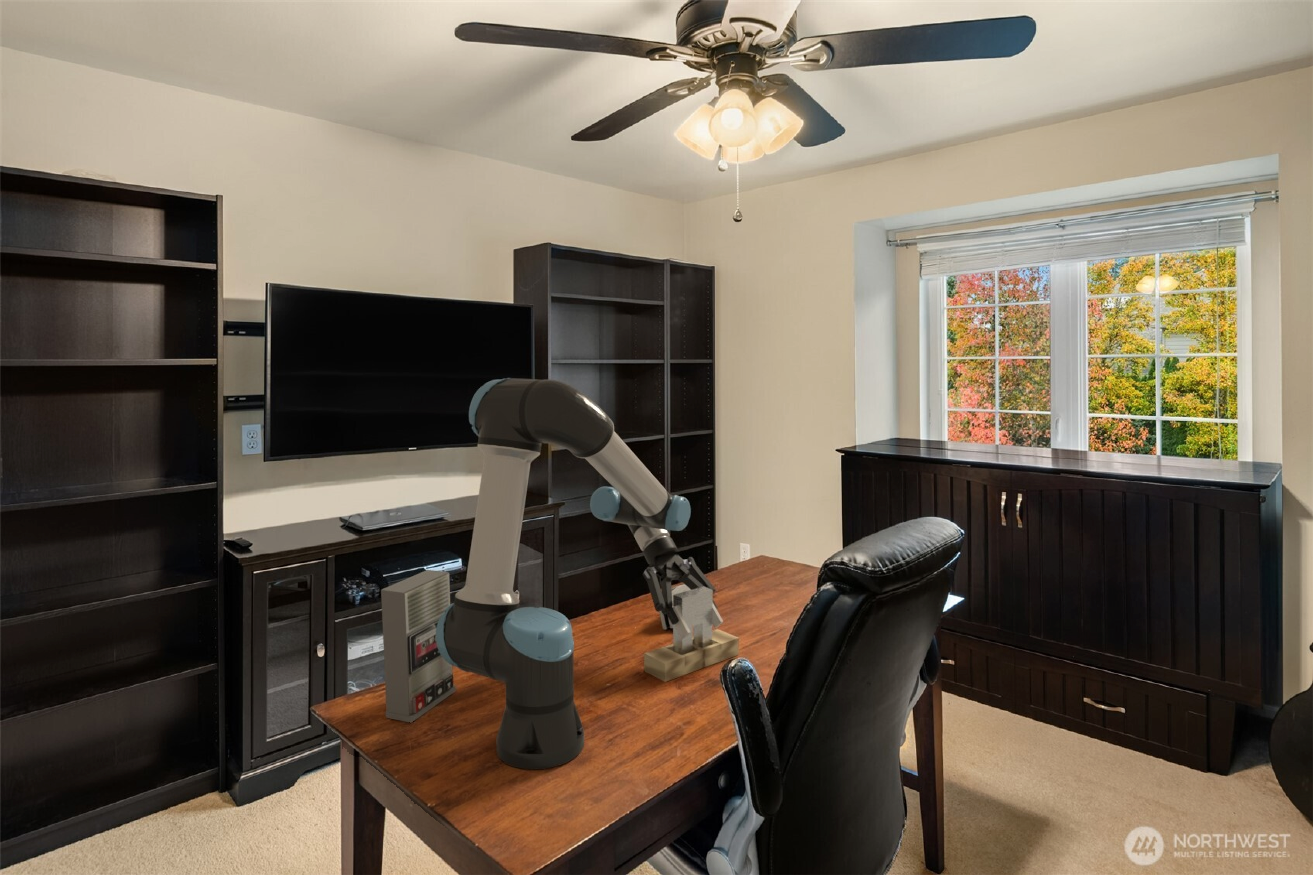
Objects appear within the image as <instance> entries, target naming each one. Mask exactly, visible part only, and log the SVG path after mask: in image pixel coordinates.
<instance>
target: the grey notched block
mask: <svg viewBox="0 0 1313 875" xmlns="http://www.w3.org/2000/svg"><path fill="white" fill-rule="evenodd" d="M713 598H714V593H713V590H712V589H709V588H706V587H704V586H703V587H700V588H696V589H692V590H689V591H685V592H682V593H678V594H675V595H673V607H674V606H677V607H678V609H679V611H680V613H681V615H682V617H683V619H684V621H685V622H686V624H687V626H688V628H689V630H690V632H691V633H690V634H689V635H688V636H687V637H686V638H684V639H682V638H681V636H680V634H679V632H678V630H677V628H676V626H675V624H674V625H673V628H672V631H673V632H672V634H673V635H672V637H673V638H672V641H673V642H672V644H673V651H674V652H676V653H678V654H680V655H684V654H687V653H690V652H693V644H694V645H696V646H698V647H701V648H704V647H707V646H710V645H712V631H713V624H712V619H713V600H714V599H713ZM693 637H694V640H693Z"/></svg>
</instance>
